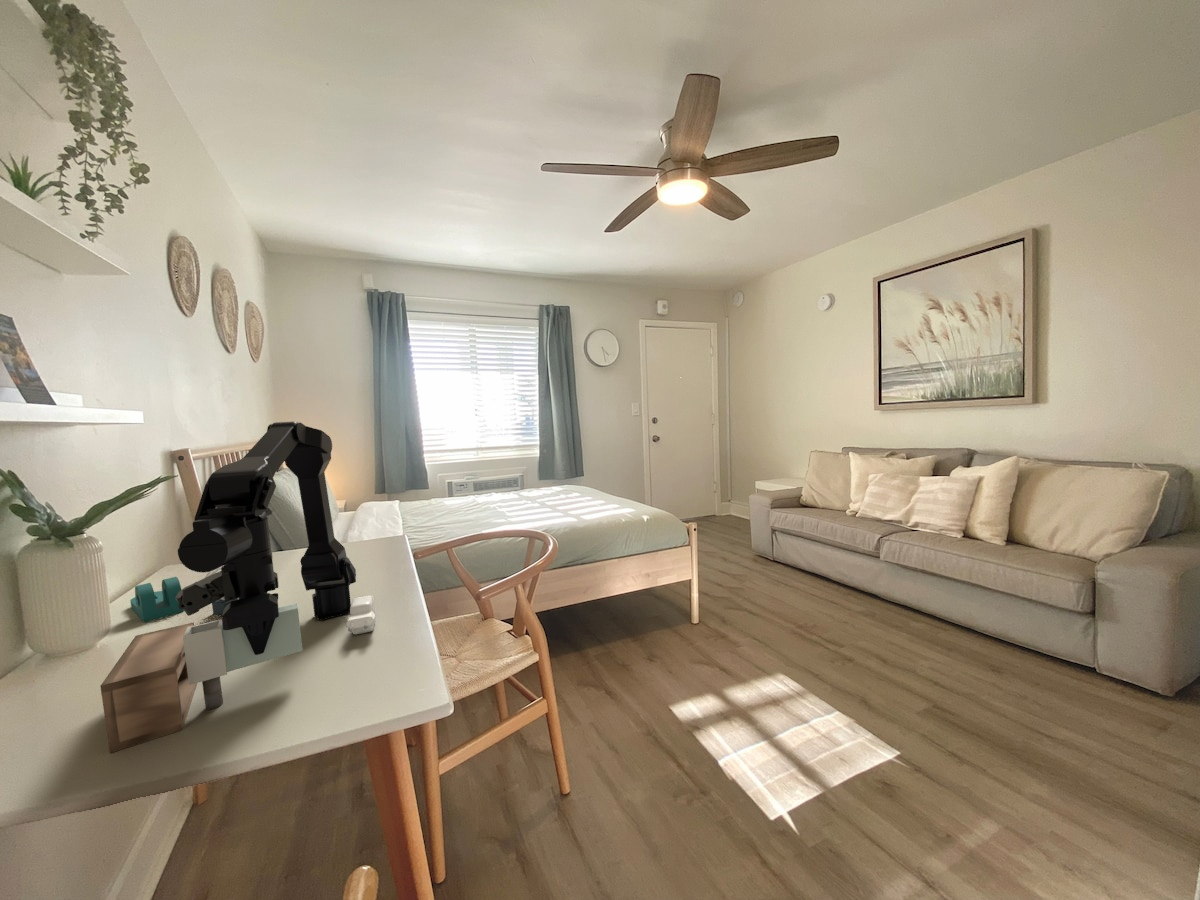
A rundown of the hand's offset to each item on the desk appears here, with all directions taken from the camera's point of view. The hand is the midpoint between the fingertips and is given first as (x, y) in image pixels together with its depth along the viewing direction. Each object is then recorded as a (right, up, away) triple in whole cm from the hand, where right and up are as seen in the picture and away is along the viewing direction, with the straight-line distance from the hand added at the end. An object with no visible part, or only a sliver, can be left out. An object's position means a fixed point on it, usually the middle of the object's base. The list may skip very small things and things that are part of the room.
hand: (259, 650), depth 72 cm
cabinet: (-11, -7, -2) cm, 13 cm away
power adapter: (+7, -5, +18) cm, 20 cm away
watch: (-31, -6, +34) cm, 46 cm away
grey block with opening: (-1, -2, -1) cm, 2 cm away
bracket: (-53, -7, +39) cm, 66 cm away
